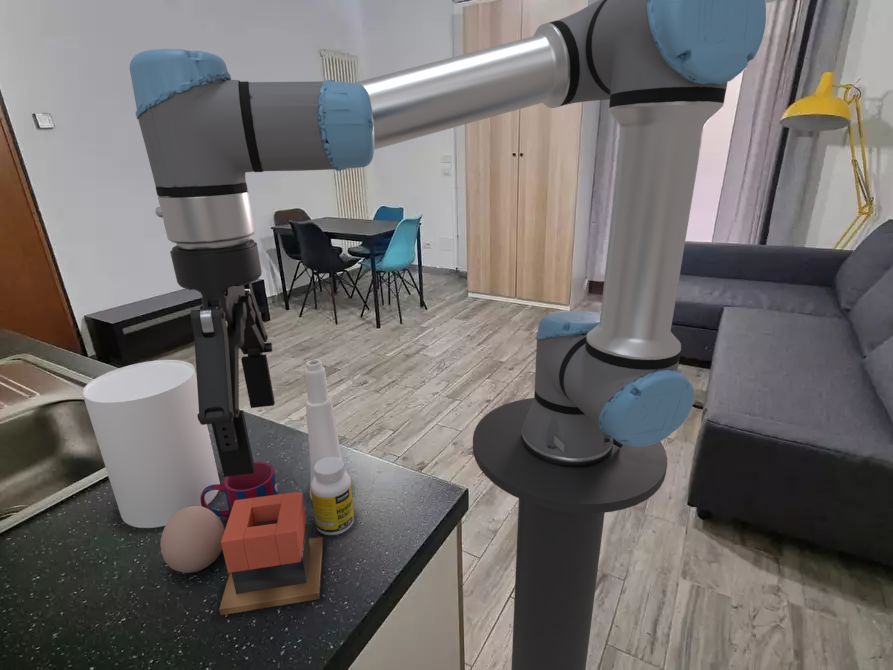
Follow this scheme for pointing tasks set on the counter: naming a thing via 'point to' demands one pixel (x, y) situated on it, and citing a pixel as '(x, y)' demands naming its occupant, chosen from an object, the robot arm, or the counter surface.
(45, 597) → the counter surface
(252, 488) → the cup
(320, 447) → the cosmetic bottle
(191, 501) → the canister
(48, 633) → the counter surface
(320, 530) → the supplement bottle
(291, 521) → the coral block
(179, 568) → the egg
